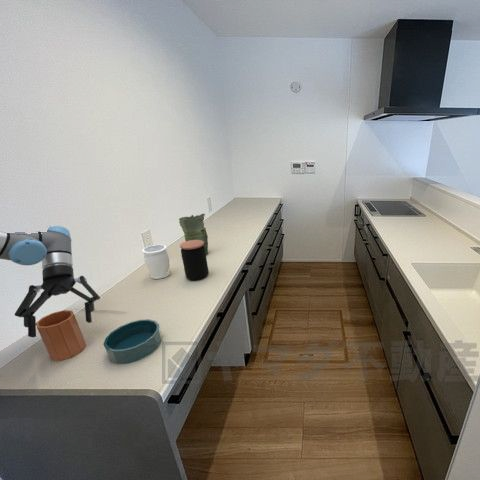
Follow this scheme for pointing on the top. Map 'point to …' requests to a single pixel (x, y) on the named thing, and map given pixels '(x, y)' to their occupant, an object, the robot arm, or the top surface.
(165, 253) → the jar
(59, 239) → the robot arm
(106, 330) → the top surface
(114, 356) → the teal round bowl
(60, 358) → the terracotta pot
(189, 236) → the pouch
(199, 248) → the coffee jar
